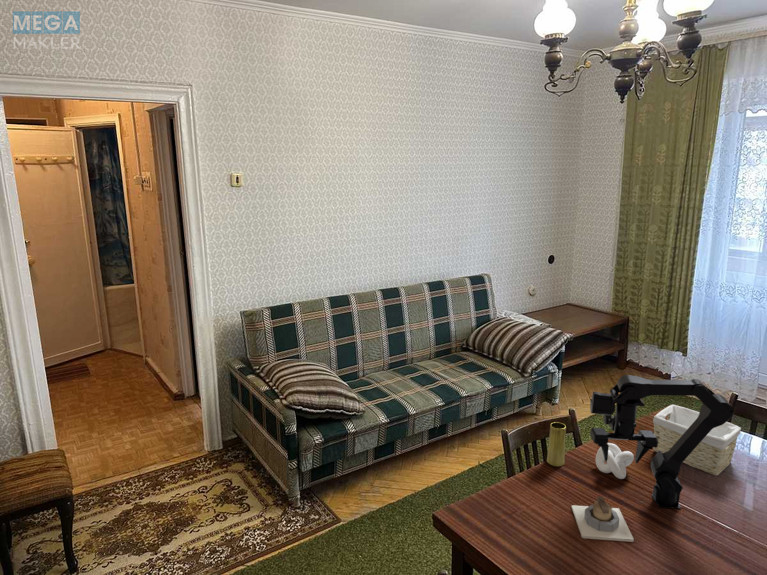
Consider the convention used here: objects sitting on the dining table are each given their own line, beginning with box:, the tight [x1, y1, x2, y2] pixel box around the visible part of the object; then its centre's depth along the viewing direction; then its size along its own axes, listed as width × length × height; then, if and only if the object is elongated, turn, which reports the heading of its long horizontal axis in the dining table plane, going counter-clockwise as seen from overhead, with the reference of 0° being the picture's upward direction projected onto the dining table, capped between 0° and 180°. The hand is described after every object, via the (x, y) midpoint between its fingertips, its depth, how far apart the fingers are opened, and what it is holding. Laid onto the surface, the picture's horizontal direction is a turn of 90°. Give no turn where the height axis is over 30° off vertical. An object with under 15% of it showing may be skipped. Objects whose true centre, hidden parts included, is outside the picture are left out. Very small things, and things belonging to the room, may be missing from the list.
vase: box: [546, 421, 567, 467], centre depth 190 cm, size 6×6×14 cm
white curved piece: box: [595, 442, 635, 480], centre depth 184 cm, size 11×12×9 cm
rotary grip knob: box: [593, 495, 613, 522], centre depth 158 cm, size 6×5×6 cm
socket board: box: [571, 504, 635, 543], centre depth 158 cm, size 14×14×3 cm
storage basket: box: [652, 404, 742, 476], centre depth 192 cm, size 24×16×15 cm
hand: (620, 461), depth 169 cm, fingers open, 9 cm apart
